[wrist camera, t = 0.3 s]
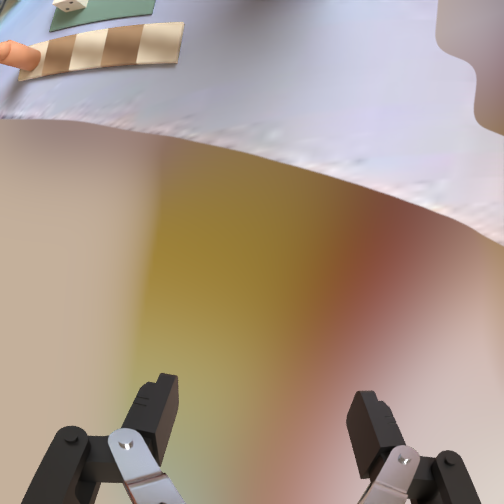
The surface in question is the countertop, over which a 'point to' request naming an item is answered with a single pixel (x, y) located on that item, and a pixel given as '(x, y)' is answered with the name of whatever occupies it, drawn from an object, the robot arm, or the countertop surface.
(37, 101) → the countertop surface
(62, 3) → the die
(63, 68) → the track
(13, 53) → the peach capsule shape
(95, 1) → the felt mat
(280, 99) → the countertop surface
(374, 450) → the robot arm
